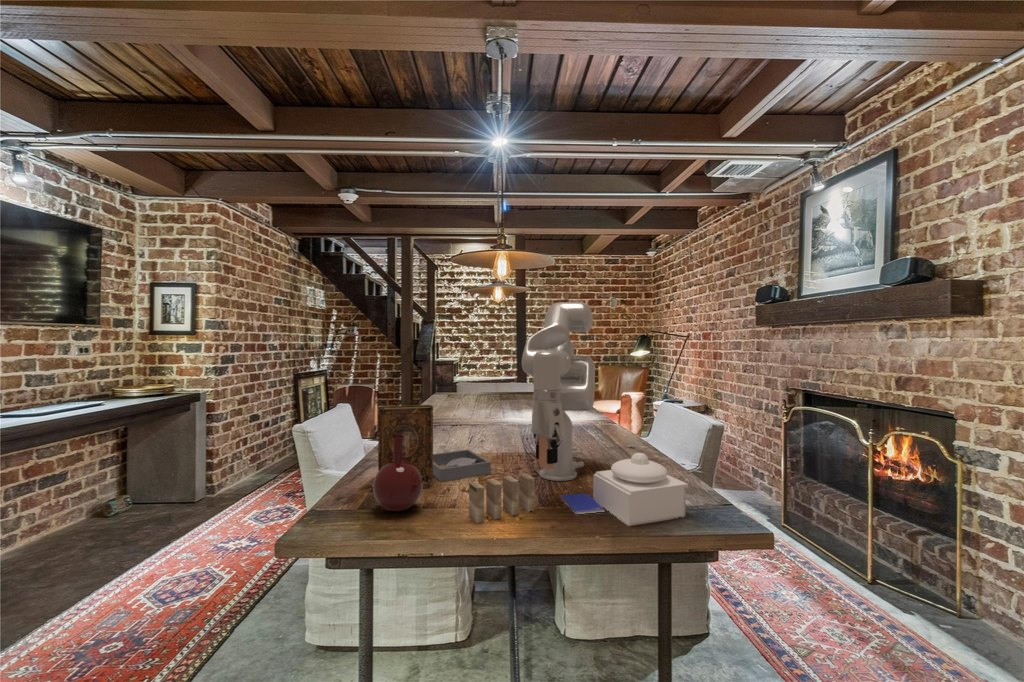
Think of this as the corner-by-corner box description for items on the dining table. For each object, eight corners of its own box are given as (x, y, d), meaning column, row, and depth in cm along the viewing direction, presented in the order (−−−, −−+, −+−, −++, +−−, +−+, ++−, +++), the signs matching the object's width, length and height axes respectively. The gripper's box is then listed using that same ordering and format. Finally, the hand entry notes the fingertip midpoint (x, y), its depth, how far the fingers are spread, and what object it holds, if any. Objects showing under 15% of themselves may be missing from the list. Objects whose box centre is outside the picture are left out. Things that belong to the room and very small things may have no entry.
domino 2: (493, 511, 124) (493, 478, 124) (501, 518, 120) (501, 483, 120) (486, 513, 123) (486, 479, 123) (494, 519, 119) (494, 485, 119)
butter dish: (593, 502, 132) (593, 447, 131) (646, 495, 138) (647, 442, 137) (628, 527, 115) (629, 463, 115) (687, 517, 121) (688, 457, 121)
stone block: (443, 481, 155) (471, 476, 154) (440, 467, 156) (468, 462, 154) (452, 472, 167) (479, 467, 166) (450, 458, 167) (476, 454, 166)
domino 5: (544, 464, 132) (544, 432, 132) (554, 468, 127) (554, 436, 127) (538, 465, 131) (538, 433, 131) (548, 469, 126) (548, 436, 126)
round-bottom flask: (363, 510, 125) (363, 437, 125) (404, 497, 135) (404, 429, 135) (391, 524, 116) (391, 445, 116) (432, 508, 126) (432, 436, 126)
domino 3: (509, 508, 127) (509, 475, 127) (518, 514, 122) (518, 481, 122) (502, 509, 126) (502, 476, 126) (511, 516, 121) (511, 482, 121)
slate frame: (468, 459, 174) (468, 449, 174) (490, 473, 157) (490, 462, 157) (422, 466, 166) (422, 455, 165) (440, 481, 149) (440, 469, 149)
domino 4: (525, 505, 129) (525, 473, 129) (534, 511, 125) (534, 478, 125) (518, 506, 128) (518, 474, 128) (528, 512, 124) (528, 479, 124)
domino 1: (476, 515, 122) (476, 481, 122) (484, 522, 118) (484, 487, 117) (468, 516, 121) (468, 482, 121) (476, 523, 117) (476, 488, 116)
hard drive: (604, 508, 124) (587, 493, 136) (575, 511, 122) (561, 495, 134) (604, 514, 124) (587, 498, 136) (575, 517, 122) (561, 500, 134)
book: (432, 482, 148) (432, 404, 148) (433, 488, 143) (433, 407, 142) (379, 485, 145) (379, 406, 144) (378, 491, 140) (377, 409, 139)
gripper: (576, 398, 123) (575, 466, 123) (541, 391, 138) (541, 452, 138) (552, 400, 120) (552, 470, 120) (520, 393, 135) (519, 455, 135)
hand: (546, 460), depth 129 cm, fingers closed on domino 5, 4 cm apart
